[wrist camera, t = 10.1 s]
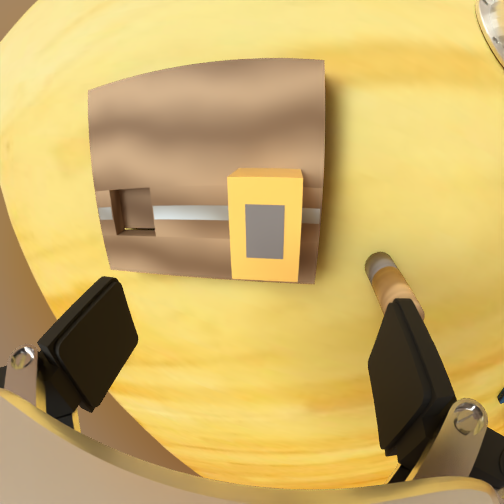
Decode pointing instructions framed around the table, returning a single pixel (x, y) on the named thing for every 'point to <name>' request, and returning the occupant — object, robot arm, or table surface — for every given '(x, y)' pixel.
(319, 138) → the board
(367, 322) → the table surface
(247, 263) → the block
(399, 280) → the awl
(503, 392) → the handheld scanner
